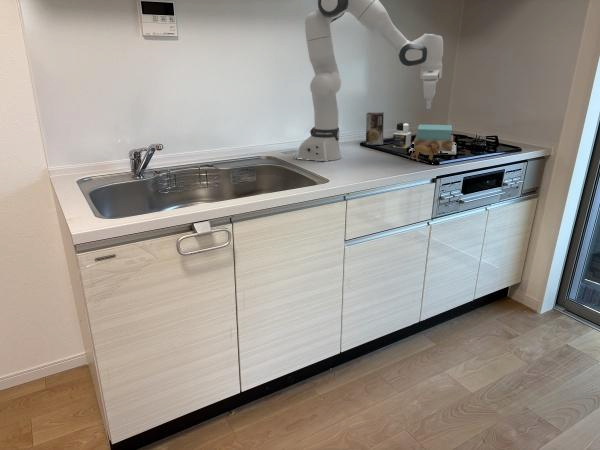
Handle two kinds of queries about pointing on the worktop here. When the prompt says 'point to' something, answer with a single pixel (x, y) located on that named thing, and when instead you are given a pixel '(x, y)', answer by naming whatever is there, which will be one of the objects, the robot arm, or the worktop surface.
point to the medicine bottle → (402, 136)
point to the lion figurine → (427, 150)
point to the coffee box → (374, 128)
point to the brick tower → (435, 137)
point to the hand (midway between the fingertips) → (429, 107)
